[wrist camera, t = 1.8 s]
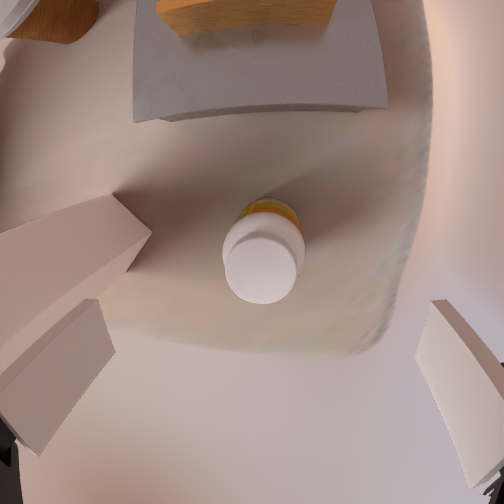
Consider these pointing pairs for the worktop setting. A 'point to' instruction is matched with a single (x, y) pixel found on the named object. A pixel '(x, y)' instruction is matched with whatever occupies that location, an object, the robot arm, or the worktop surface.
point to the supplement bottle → (264, 251)
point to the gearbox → (255, 57)
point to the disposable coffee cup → (47, 19)
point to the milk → (61, 267)
